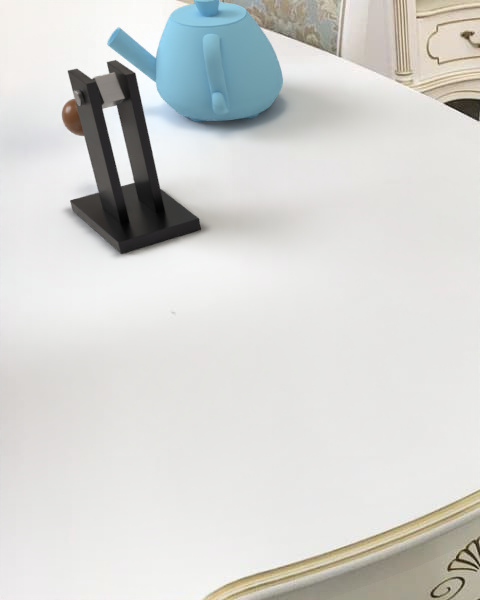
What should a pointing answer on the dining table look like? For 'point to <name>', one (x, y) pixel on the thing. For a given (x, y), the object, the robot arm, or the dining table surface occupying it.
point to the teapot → (209, 62)
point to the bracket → (145, 190)
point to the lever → (108, 96)
